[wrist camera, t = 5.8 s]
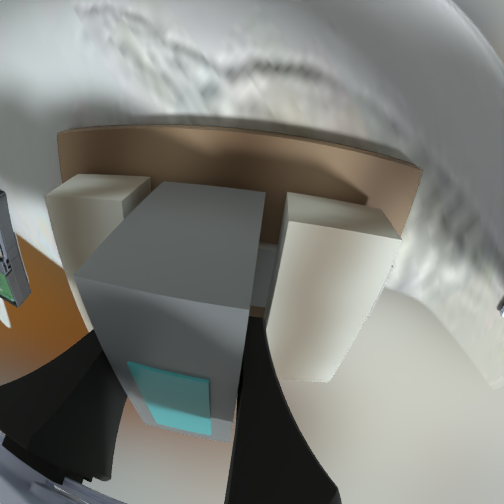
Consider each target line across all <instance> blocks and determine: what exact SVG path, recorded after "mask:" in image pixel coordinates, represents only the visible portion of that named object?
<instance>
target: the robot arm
mask: <svg viewBox="0 0 504 504" xmlns="http://www.w3.org/2000/svg"><path fill="white" fill-rule="evenodd" d="M500 315H501V316H502V317H504V306H503V307H502V309H501V311H500ZM126 399H127V394H126V392H125V391H124V389H123V387H122V385H121V383H120V382H119V380H118V378H117V376H116V374H115V372H114V370H113V369H112V367H111V365H110V363H109V361H108V359H107V357H106V355H105V353H104V351H103V348H102V346H101V344H100V342H99V340H98V338H97V335H96V333H95V331H94V329H93V330H92V331H90V332H89V333H88V334H87V335H86V336H84V337H83V338H82V339H81V340H80V341H78V342H77V343H76V344H74V345H73V346H72V347H71V348H69V349H68V350H67V351H65V352H64V353H62V354H61V355H60V356H58V357H57V358H55V359H54V360H52V361H51V362H49V363H47V364H46V365H44V366H42V367H40V368H39V369H37V370H35V371H33V372H32V373H29V374H27V375H26V376H23V377H21V378H19V379H17V380H14V381H12V382H10V383H7V384H4V385H2V386H0V503H1V504H86V503H85V502H87V503H89V504H126V503H124V502H121V501H118V500H116V499H114V498H111V497H108V496H106V495H104V494H101V493H99V492H97V491H95V490H92V489H91V488H88V487H86V486H84V485H82V482H83V479H85V480H87V481H89V482H91V481H92V478H93V477H95V478H97V479H99V480H102V481H108V480H110V479H111V471H112V463H113V455H114V449H115V442H116V437H117V433H118V428H119V423H120V420H121V416H122V412H123V408H124V405H125V402H126ZM4 433H5V434H6V435H4ZM54 485H56V486H57V487H59V488H61V489H62V490H64V491H66V492H68V493H70V494H71V495H70V494H68V493H65V492H63V491H61V490H58V489H56V488H55V487H54ZM80 499H81V500H83V501H85V502H83V501H81V500H80ZM224 504H342V503H341V498H340V494H339V491H338V488H337V486H336V485H335V483H334V482H333V481H332V480H331V478H330V477H329V476H328V474H327V473H326V472H325V470H324V469H323V467H322V466H321V465H320V464H319V462H318V460H317V459H316V457H315V455H314V454H313V453H312V451H311V449H310V447H309V446H308V444H307V442H306V440H305V439H304V437H303V435H302V433H301V432H300V430H299V428H298V426H297V424H296V422H295V420H294V418H293V416H292V413H291V411H290V409H289V407H288V405H287V402H286V400H285V397H284V395H283V392H282V389H281V386H280V384H279V381H278V378H277V375H276V371H275V368H274V364H273V361H272V357H271V353H270V349H269V344H268V339H267V333H266V322H265V319H264V318H261V317H254V316H249V317H248V324H247V331H246V338H245V345H244V351H243V358H242V365H241V371H240V378H239V385H238V392H237V413H236V429H235V436H234V443H233V449H232V456H231V463H230V469H229V476H228V483H227V489H226V496H225V502H224Z"/></svg>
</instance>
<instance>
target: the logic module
mask: <svg viewBox="0 0 504 504" xmlns="http://www.w3.org/2000/svg"><path fill="white" fill-rule="evenodd" d="M265 194H266V192H259V191H252V190H244V189H236V188H227V187H219V186H209V185H200V184H189V183H178V182H166V181H163V182H162V183H161V184H160V185H159V186H158V187H157V188H156V189H155V190H154V191H152V192H151V193H150V194H149V195H148V196H147V197H146V198H145V199H144V200H143V201H142V202H141V203H140V204H139V205H138V206H137V207H136V208H135V209H134V210H133V211H132V212H131V213H130V214H129V215H128V216H127V217H126V218H125V219H124V220H123V221H122V222H121V223H120V224H119V225H118V226H117V227H116V228H115V229H114V230H113V231H112V232H111V233H110V235H109V236H108V237H107V238H106V239H105V240H104V241H103V242H102V243H101V244H100V245H99V246H98V248H97V249H96V250H95V251H94V252H93V253H92V254H91V255H90V257H89V258H88V259H87V260H86V261H85V262H84V264H83V265H82V266H81V267H80V268H79V269H78V271H77V272H76V273H75V274H74V275H73V276H74V279H75V282H76V285H77V288H78V291H79V294H80V296H81V299H82V302H83V304H84V307H85V309H86V312H87V314H88V317H89V319H90V322H91V324H92V326H93V329H94V331H95V333H96V335H97V338H98V340H99V342H100V344H101V346H102V348H103V351H104V353H105V355H106V357H107V359H108V361H109V363H110V365H111V367H112V369H113V370H114V372H115V374H116V376H117V378H118V380H119V382H120V383H121V385H122V387H123V389H124V391H125V392H126V394H127V396H128V397H129V399H130V401H131V402H132V404H133V406H134V407H135V409H136V411H137V412H138V414H139V415H140V417H141V419H142V420H143V421H144V423H145V424H147V425H151V426H154V427H158V428H162V429H166V430H170V431H173V432H178V433H182V434H186V435H191V436H196V437H201V438H206V439H212V440H218V441H224V442H230V437H231V431H232V424H233V418H234V411H235V405H236V398H237V391H238V385H239V378H240V371H241V365H242V358H243V351H244V345H245V338H246V331H247V324H248V317H249V310H250V303H251V296H252V289H253V282H254V275H255V267H256V260H257V253H258V246H259V238H260V231H261V224H262V216H263V209H264V201H265Z"/></svg>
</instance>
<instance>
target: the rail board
mask: <svg viewBox="0 0 504 504" xmlns="http://www.w3.org/2000/svg"><path fill="white" fill-rule="evenodd" d="M57 141H58V152H59V161H60V169H61V177H62V184H61V185H60V186H58V187H57V188H55V189H54V190H52V191H51V192H49V193H48V194H46V195H45V200H46V205H47V209H48V214H49V218H50V222H51V226H52V230H53V234H54V238H55V241H56V245H57V248H58V252H59V255H60V258H61V261H62V265H63V268H64V271H65V274H66V277H67V279H68V282H69V285H70V288H71V290H72V292H73V295H74V298H75V300H76V303H77V306H78V308H79V311H80V313H81V315H82V318H83V320H84V322H85V324H86V327H87V329H88V331H89V332H90V331H92V330H93V326H92V324H91V322H90V319H89V317H88V314H87V312H86V309H85V307H84V304H83V302H82V299H81V296H80V294H79V291H78V288H77V285H76V282H75V279H74V276H73V275H74V274H75V273H76V272H77V271H78V269H79V268H80V267H81V266H82V265H83V264H84V262H85V261H86V260H87V259H88V258H89V257H90V255H91V254H92V253H93V252H94V251H95V250H96V249H97V248H98V246H99V245H100V244H101V243H102V242H103V241H104V240H105V239H106V238H107V237H108V236H109V235H110V233H111V232H112V231H113V230H114V229H115V228H116V227H117V226H118V225H119V224H120V223H121V222H122V221H123V220H124V219H125V218H126V217H127V216H128V215H129V214H130V213H131V212H132V211H133V210H134V209H135V208H136V207H137V206H138V205H139V204H140V203H141V202H142V201H143V200H144V199H145V198H146V197H147V196H148V195H149V194H150V193H151V192H152V191H154V190H155V189H156V188H157V187H158V186H159V185H160V184H161V183H162V182H163V181H166V182H178V183H189V184H200V185H209V186H219V187H227V188H236V189H244V190H252V191H259V192H266V194H265V201H264V209H263V216H262V224H261V231H260V238H259V246H258V253H257V260H256V267H255V275H254V282H253V289H252V296H251V303H250V310H249V316H254V317H261V318H264V319H265V322H266V333H267V339H268V344H269V349H270V353H271V357H272V361H273V364H274V368H275V371H276V375H277V378H278V379H287V380H300V381H317V382H329V381H330V379H331V378H332V376H333V375H334V373H335V371H336V370H337V368H338V367H339V365H340V363H341V362H342V360H343V358H344V357H345V355H346V353H347V352H348V350H349V348H350V347H351V345H352V343H353V341H354V340H355V338H356V336H357V334H358V333H359V331H360V329H361V327H362V325H363V323H364V321H365V320H366V318H369V316H370V314H371V312H372V310H373V308H374V306H375V304H376V303H377V301H378V299H379V297H380V295H381V292H382V290H383V288H384V286H385V284H386V282H387V280H388V278H389V276H390V273H391V271H392V269H393V266H392V264H393V262H394V259H395V257H396V255H397V252H398V250H399V248H400V245H401V243H402V239H401V237H400V236H401V234H402V231H403V228H404V226H405V223H406V220H407V218H408V215H409V212H410V209H411V206H412V203H413V200H414V197H415V194H416V191H417V188H418V185H419V182H420V178H421V175H422V172H423V170H421V169H420V168H418V167H417V166H416V165H414V164H412V163H409V162H405V161H402V160H399V159H395V158H392V157H388V156H385V155H381V154H377V153H374V152H370V151H366V150H362V149H358V148H353V147H349V146H345V145H340V144H335V143H331V142H326V141H321V140H315V139H310V138H304V137H298V136H292V135H286V134H279V133H272V132H265V131H256V130H248V129H238V128H227V127H214V126H197V125H166V124H144V125H114V126H98V127H86V128H75V129H68V130H65V131H63V132H60V133H57Z"/></svg>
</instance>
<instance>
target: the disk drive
mask: <svg viewBox="0 0 504 504" xmlns="http://www.w3.org/2000/svg"><path fill="white" fill-rule="evenodd" d="M30 293H31V289H30V285H29V280H28V276H27V273H26V270H25V267H24V263H23V260H22V256H21V253H20V249H19V245H18V241H17V237H16V233H15V232H13V229H12V224H11V220H10V215H9V210H8V204H7V197H6V193H5V192H3V191H0V298H2V299H3V300H5V301H8V302H9V303H11V304H12V305H14V306H16V307H20V305H21V304H22V303H23V302H24V301H25V300H26V298H27V297H28V296H29V294H30Z"/></svg>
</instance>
